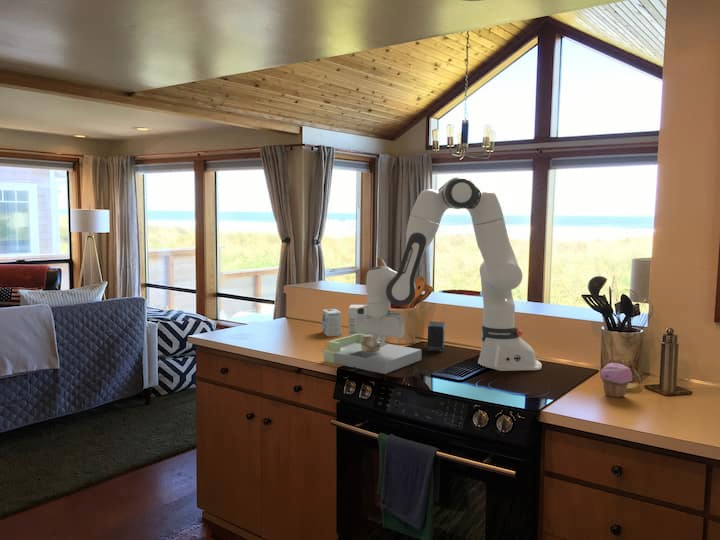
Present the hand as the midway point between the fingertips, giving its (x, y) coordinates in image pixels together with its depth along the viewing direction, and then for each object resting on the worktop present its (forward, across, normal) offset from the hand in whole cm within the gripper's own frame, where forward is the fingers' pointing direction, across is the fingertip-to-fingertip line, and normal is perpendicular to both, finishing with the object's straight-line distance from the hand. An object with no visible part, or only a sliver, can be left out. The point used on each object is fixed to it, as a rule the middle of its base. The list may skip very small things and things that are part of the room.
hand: (379, 346), depth 212 cm
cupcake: (+8, -80, -10) cm, 81 cm away
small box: (+7, -6, -32) cm, 33 cm away
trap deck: (+6, +4, -1) cm, 7 cm away
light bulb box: (+5, +46, -29) cm, 55 cm away
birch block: (+2, +4, 0) cm, 4 cm away
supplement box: (+6, +29, -27) cm, 40 cm away
